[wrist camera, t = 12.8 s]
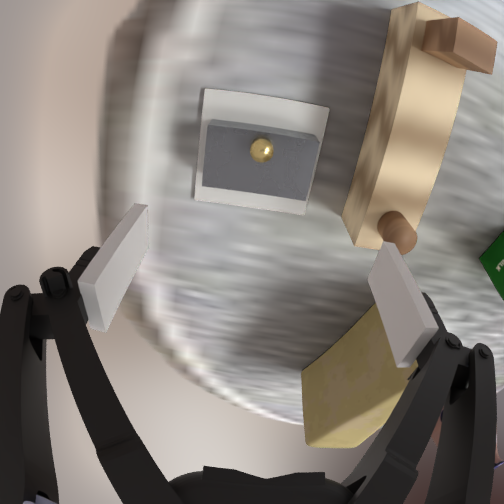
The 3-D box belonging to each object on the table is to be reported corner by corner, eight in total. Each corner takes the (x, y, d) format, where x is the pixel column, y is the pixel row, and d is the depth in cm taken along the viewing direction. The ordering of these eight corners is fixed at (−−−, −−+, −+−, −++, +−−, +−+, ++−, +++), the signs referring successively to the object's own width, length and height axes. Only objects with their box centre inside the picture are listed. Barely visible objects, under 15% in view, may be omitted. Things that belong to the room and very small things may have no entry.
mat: (205, 88, 27) (204, 88, 26) (328, 107, 28) (329, 108, 27) (194, 198, 33) (194, 200, 33) (303, 213, 34) (304, 215, 34)
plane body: (391, 9, 21) (449, -6, 12) (440, 31, 21) (507, 32, 12) (341, 216, 34) (368, 278, 25) (387, 225, 35) (423, 285, 26)
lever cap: (212, 119, 28) (205, 127, 25) (314, 134, 29) (322, 145, 25) (206, 175, 32) (199, 191, 28) (302, 189, 32) (307, 206, 29)
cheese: (366, 277, 39) (400, 371, 27) (418, 293, 41) (456, 376, 29) (297, 371, 51) (303, 449, 39) (344, 378, 53) (356, 450, 40)
